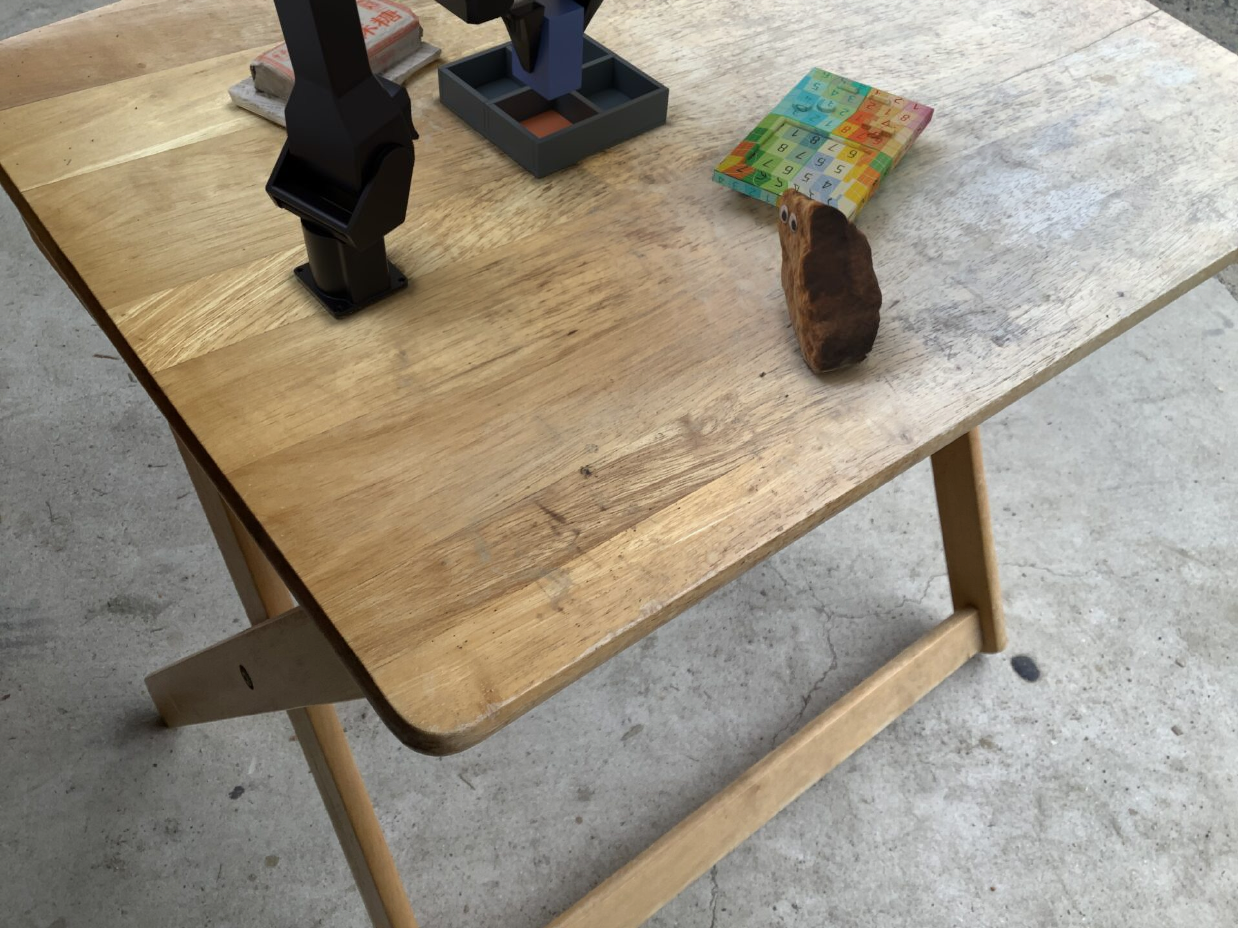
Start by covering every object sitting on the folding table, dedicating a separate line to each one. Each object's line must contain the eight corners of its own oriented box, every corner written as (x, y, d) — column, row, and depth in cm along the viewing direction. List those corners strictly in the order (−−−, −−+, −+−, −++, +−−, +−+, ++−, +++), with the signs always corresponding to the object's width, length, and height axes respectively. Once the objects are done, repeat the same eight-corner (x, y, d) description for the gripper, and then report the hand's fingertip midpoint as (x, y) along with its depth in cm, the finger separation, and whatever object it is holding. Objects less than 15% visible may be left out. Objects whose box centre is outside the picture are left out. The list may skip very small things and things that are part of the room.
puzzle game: (937, 99, 96) (847, 211, 85) (923, 145, 100) (835, 259, 88) (817, 57, 100) (715, 160, 88) (807, 103, 103) (708, 208, 92)
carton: (581, 88, 92) (584, 7, 86) (548, 101, 90) (549, 20, 85) (544, 62, 94) (545, -18, 89) (512, 75, 92) (510, -6, 87)
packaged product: (358, -21, 105) (439, 12, 101) (364, 28, 108) (443, 60, 105) (217, 55, 94) (303, 94, 91) (229, 106, 98) (312, 144, 95)
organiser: (666, 123, 100) (669, 88, 97) (538, 179, 93) (538, 143, 91) (565, 55, 107) (566, 20, 104) (439, 102, 100) (437, 67, 98)
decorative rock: (756, 278, 86) (779, 161, 78) (829, 272, 87) (859, 156, 79) (800, 385, 79) (830, 268, 71) (879, 377, 80) (918, 261, 72)
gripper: (577, -195, 87) (572, -4, 99) (376, -146, 79) (397, 56, 91) (670, -148, 82) (653, 47, 94) (466, -90, 73) (476, 116, 85)
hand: (546, 64), depth 91 cm, fingers closed on carton, 3 cm apart
